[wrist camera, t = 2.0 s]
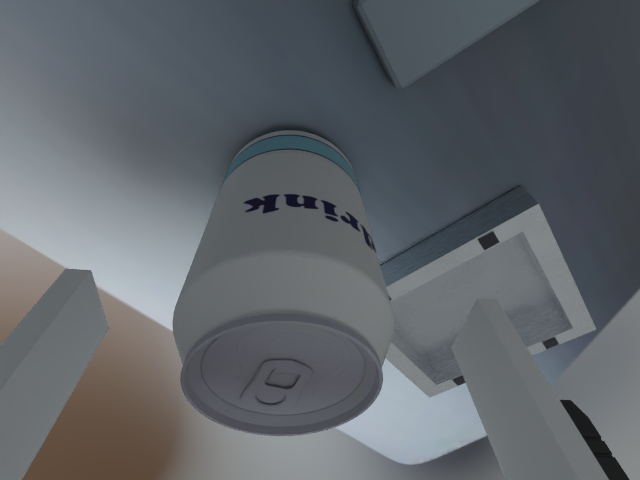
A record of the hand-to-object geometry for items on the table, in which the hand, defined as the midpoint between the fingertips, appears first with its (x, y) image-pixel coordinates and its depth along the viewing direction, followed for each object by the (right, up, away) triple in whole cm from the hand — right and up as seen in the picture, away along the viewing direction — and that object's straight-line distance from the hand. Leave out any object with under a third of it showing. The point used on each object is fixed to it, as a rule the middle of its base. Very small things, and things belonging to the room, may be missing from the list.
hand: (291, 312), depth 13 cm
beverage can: (0, +6, +7) cm, 9 cm away
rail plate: (+11, -2, +13) cm, 17 cm away
